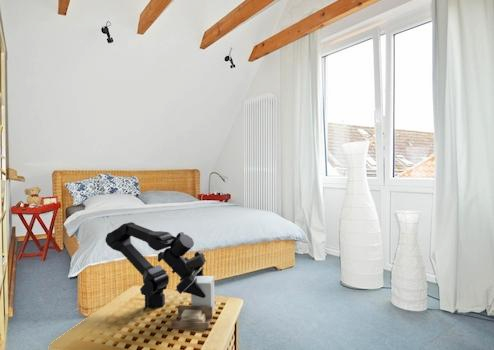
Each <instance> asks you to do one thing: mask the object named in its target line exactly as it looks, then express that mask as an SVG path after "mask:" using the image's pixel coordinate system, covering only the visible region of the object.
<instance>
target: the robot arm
mask: <svg viewBox="0 0 494 350" xmlns="http://www.w3.org/2000/svg"><path fill="white" fill-rule="evenodd" d="M131 237H133V238H135V239H137V240H140V241H142V242H145V243H147V246H148V247H150V249H152V250H154V252H155V251H156V252H158V251H160V252H159V253H158V254H157V262H158V263H160V262H161V261H162V260H163V262H165V264H166V265H167V266H168V267H169V268H171V269H172V271H171V273H172V274H176V275H178V276H179V283H178V284H177V285H176V291H177V293H179V294H182V293H183V294H185V293H186V294H190V295H191V294H192V295H196V296H199V297H201V298H205V296H206V295H205V294H204V292H203V291H202V290H201V289H200V287H199V286H198V285H197V278H196V279H195V280H194V278H195V276H205V275H204V265H205V263H206V262H207V261H206V258H205V256H206V255H205V254H204V253H203V252H200V250H198V251H195V252H194V256H193V257H191V258H189V257H188V256H185V255H186V254H187V253H188V252H189V251H190V250H192V248H193V247H194V244H195V242H194V239H193V238H192V237H190V236H189V235H188V234H185V233H184V232H183V231H182V232H178V233H177V235H176V236H174V235H172V233H170V232H168V231H161V230H160V231H158V230H157V231H155V230H152V229H149V228H146V227H144V226H142V225H141V226H140V225H138V224H136V223H134V222H132V221H129V222H126V223H123V224H121V225H120V226H118V227H117V228H116V229H114V230H112V231H110V232H108V233H107V234H106V237H105V243H106V245H107V246H108V247H110V248H111V249H112V250H114V251H117V252H120V253H121V254H122V255H123V256H124V257H125V259H126V260H128V262H129V263H130V264H131V265H132V266H133V268H135V269H136V270H137V271H138V272H139V274H141V276H142V282H143V285H142V286H141V287H140V289H139V290H140V293H141V295H143V296H144V307H143V311H144V312H145V311H146V310H147V309H157V308H158V309H159V308H163V307H164V306H165V304H166V297H165V294H164V291H165V290H166V289H167V287H168V284H169V283H170V282H169V279H170V276H169V274H168V273H167V270H165V269H164V268H163V267H162V266H161V265H156V266H154V265H152V264H151V263H150V262H149V261H148V260H147V259H146V257H145V256H144V255H143V254H142V253H141V252H140V251H139V250H138V249H137V248H136V247H135V246H134V245H133V244H132V242H131V241H132V240H131ZM161 250H163V251H161ZM184 256H185V257H184Z"/></svg>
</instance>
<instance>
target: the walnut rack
mask: <svg viewBox="0 0 494 350" xmlns="http://www.w3.org/2000/svg"><path fill="white" fill-rule="evenodd" d="M184 310H202V313H204V314H205V317H206V320H205V322H190V321H180V320H181V315H182V313H183V311H184ZM212 319H213V314H212V306H191V305H183V304H182V305H180V304H179V305H178V306H177V319H176V320H172V322H171V329H183V330H184V329H186V330H208V329H209V328H210V325H211V323H212Z"/></svg>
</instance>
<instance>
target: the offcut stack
mask: <svg viewBox="0 0 494 350" xmlns="http://www.w3.org/2000/svg"><path fill="white" fill-rule="evenodd" d="M205 320H206V317H205V314H204V313H202V310H184V311H183V313H182V315H181V320H180V321H190V322H205Z"/></svg>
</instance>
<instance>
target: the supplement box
mask: <svg viewBox="0 0 494 350" xmlns="http://www.w3.org/2000/svg"><path fill="white" fill-rule="evenodd" d="M196 278H197V285H198V286H199V287H200V289H201V290H202V291H203V292H204V294H205V295H206V296H205V298H201V297H199V296H196V295H192V294H190V299H191V300H190V301H191V305H190V306H212V315H213V314H214V311H215V308H216V304H215V303H216V301H215V299H216V297H215V275H204V276H195V278H194V280H195V279H196Z"/></svg>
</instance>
